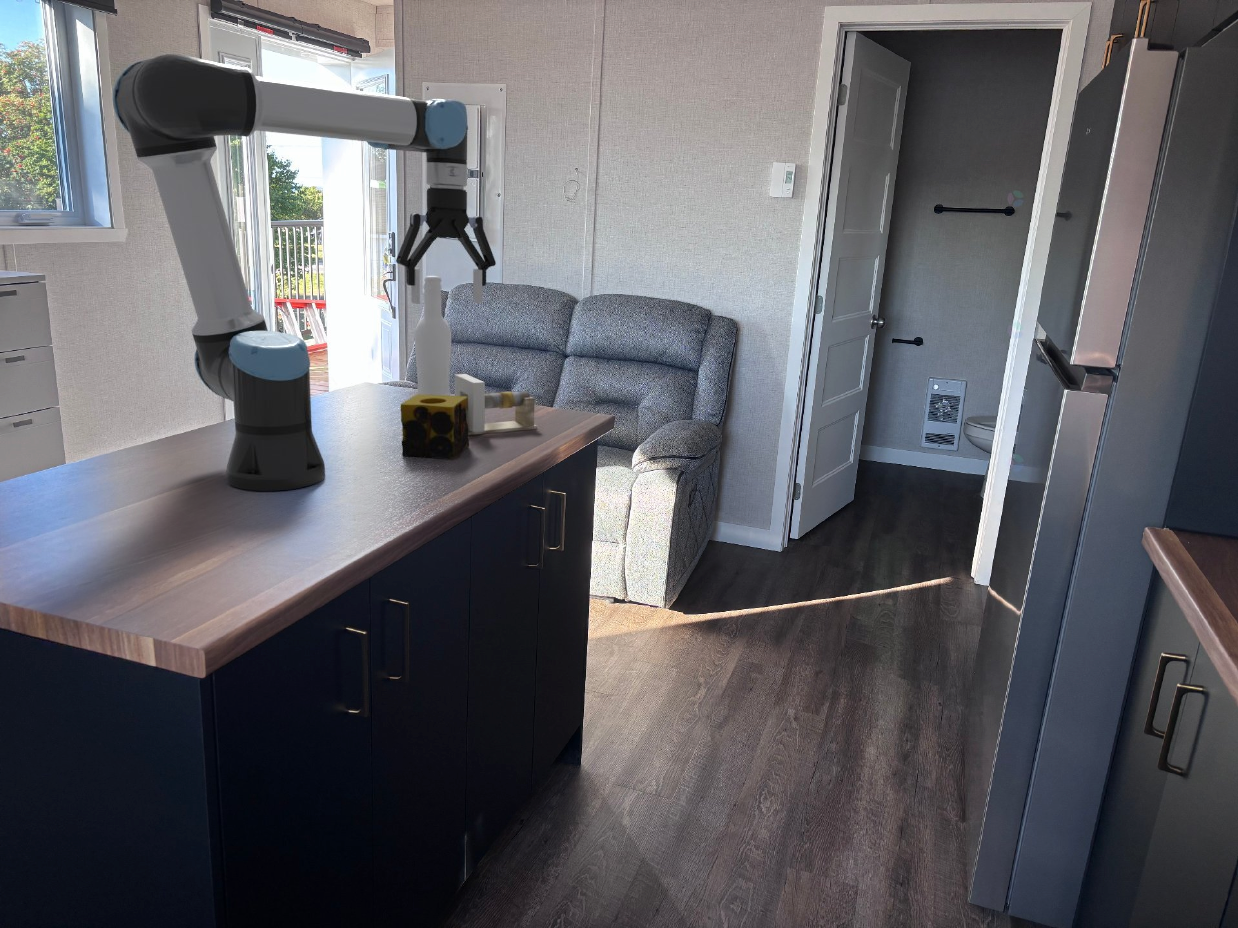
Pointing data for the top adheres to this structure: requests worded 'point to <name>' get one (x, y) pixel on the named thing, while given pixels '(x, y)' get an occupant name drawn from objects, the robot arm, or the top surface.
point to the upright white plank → (472, 400)
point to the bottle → (433, 343)
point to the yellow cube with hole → (434, 426)
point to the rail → (514, 425)
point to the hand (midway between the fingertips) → (447, 303)
